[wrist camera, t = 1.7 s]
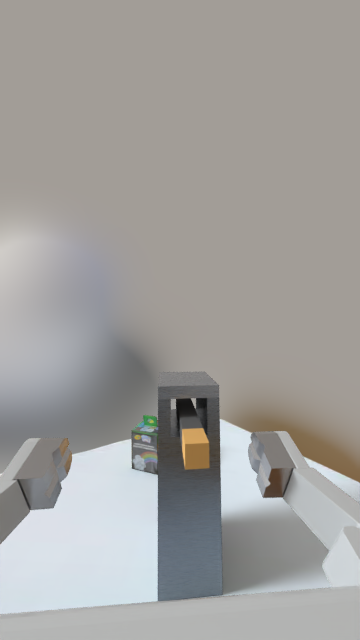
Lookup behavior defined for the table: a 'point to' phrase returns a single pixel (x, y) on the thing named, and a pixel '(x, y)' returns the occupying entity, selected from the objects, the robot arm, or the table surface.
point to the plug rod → (192, 436)
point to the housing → (188, 494)
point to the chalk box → (145, 445)
